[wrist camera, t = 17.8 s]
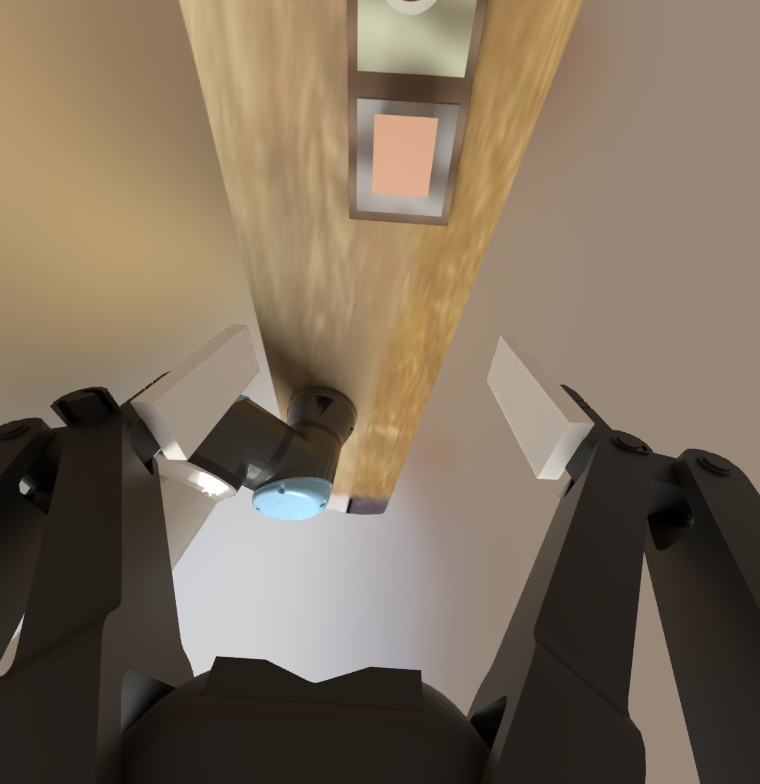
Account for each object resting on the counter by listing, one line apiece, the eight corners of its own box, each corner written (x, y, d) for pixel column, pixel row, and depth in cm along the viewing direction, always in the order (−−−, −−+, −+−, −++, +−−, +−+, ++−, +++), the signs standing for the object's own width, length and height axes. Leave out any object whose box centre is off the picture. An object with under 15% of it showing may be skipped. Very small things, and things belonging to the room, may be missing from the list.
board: (444, 224, 38) (447, 226, 35) (352, 217, 38) (349, 218, 35) (500, -100, 23) (512, -136, 21) (351, -108, 24) (345, -144, 21)
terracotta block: (424, 196, 33) (427, 197, 29) (376, 193, 34) (372, 193, 29) (432, 130, 30) (438, 118, 25) (379, 126, 30) (374, 113, 25)
